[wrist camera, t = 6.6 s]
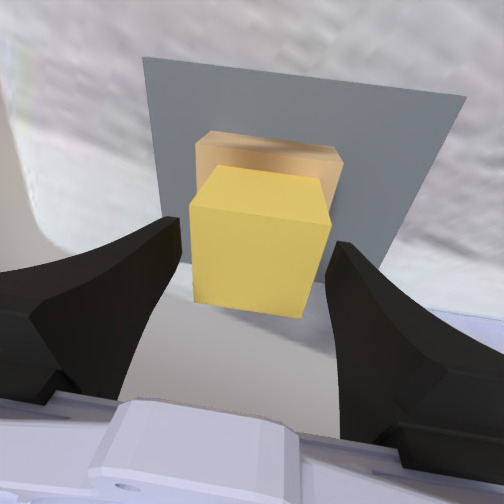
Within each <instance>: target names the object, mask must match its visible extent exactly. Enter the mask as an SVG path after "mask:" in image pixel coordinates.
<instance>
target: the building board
mask: <svg viewBox="0 0 504 504" xmlns="http://www.w3.org/2000/svg"><path fill="white" fill-rule="evenodd" d="M142 60H143V68H144V75H145V83H146V91H147V99H148V107H149V115H150V123H151V131H152V139H153V147H154V155H155V163H156V171H157V179H158V187H159V195H160V203H161V210H162V218H163V217H165V216H171V217H178V218H180V228H181V241H182V256H181V259H180V261H181V262H188V263H192V253H191V234H190V215H189V204H190V203H191V201H192V200H193V199H194V197H195V196H196V194H197V181H196V150H195V143H197V142H198V141H199V140H200V139H201V138H202V137H204V136H205V135H206V134H207V133H208V132H210V131H218V132H225V133H233V134H240V135H248V136H256V137H263V138H271V139H278V140H286V141H294V142H301V143H309V144H316V145H324V146H332V147H335V149H336V151H337V152H338V154H339V156H340V158H341V159H342V161H343V163H344V164H343V168H342V171H341V174H340V177H339V180H338V184H337V187H336V190H335V193H334V197H333V200H332V203H331V206H330V210H329V216H330V220H331V224H332V227H331V230H330V233H329V236H328V239H327V242H326V245H325V248H324V251H323V254H322V257H321V260H320V263H319V266H318V269H317V272H316V275H315V278H314V282H321V283H325V273H326V270H327V267H328V264H329V262H330V259H331V256H332V253H333V250H334V248H335V245H336V242H337V241H344V242H351V243H352V244H353V245H354V246H355V247H356V248H357V249H358V250H359V251H360V252H361V253H362V254H363V255H364V256H365V257H366V258H367V259H368V260H369V261H370V262H371V263H372V264H373V265H374V266H375V267H376V268H377V269H379V267H380V265H381V263H382V261H383V259H384V257H385V255H386V253H387V251H388V249H389V247H390V246H391V244H392V242H393V240H394V238H395V236H396V234H397V232H398V230H399V228H400V226H401V224H402V222H403V220H404V218H405V216H406V214H407V213H408V211H409V209H410V207H411V205H412V203H413V201H414V199H415V197H416V195H417V193H418V191H419V189H420V187H421V185H422V183H423V181H424V180H425V178H426V176H427V174H428V172H429V170H430V168H431V166H432V164H433V162H434V160H435V158H436V156H437V154H438V152H439V150H440V148H441V147H442V145H443V143H444V141H445V139H446V137H447V135H448V133H449V131H450V129H451V127H452V125H453V123H454V121H455V119H456V117H457V115H458V114H459V112H460V110H461V108H462V106H463V104H464V102H465V100H466V98H467V97H465V96H458V95H450V94H442V93H434V92H426V91H418V90H410V89H402V88H393V87H385V86H377V85H369V84H361V83H353V82H345V81H337V80H329V79H320V78H312V77H304V76H296V75H288V74H280V73H272V72H264V71H256V70H247V69H239V68H231V67H223V66H215V65H207V64H199V63H191V62H183V61H174V60H166V59H158V58H150V57H142Z"/></svg>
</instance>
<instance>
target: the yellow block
mask: <svg viewBox="0 0 504 504" xmlns="http://www.w3.org/2000/svg"><path fill="white" fill-rule="evenodd" d="M189 215H190V234H191V253H192V273H193V292H194V302H195V303H201V304H207V305H214V306H220V307H227V308H233V309H239V310H246V311H252V312H258V313H265V314H271V315H278V316H284V317H290V318H297V319H301V317H302V314H303V311H304V308H305V305H306V302H307V299H308V296H309V293H310V290H311V287H312V284H313V281H314V278H315V275H316V272H317V269H318V266H319V263H320V260H321V257H322V254H323V251H324V248H325V245H326V242H327V239H328V236H329V233H330V230H331V227H332V224H331V220H330V216H329V213H328V209H327V205H326V202H325V198H324V194H323V191H322V187H321V183H320V180H319V179H316V178H309V177H302V176H295V175H287V174H280V173H273V172H266V171H259V170H251V169H244V168H237V167H230V166H222V165H217V166H216V168H215V169H214V171H213V172H212V173H211V175H210V176H209V178H208V179H207V180H206V182H205V183H204V185H203V186H202V187H201V189H200V190H199V192H198V193H197V194H196V196H195V197H194V199H193V200H192V201H191V203H190V204H189Z"/></svg>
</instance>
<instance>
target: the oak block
mask: <svg viewBox="0 0 504 504" xmlns="http://www.w3.org/2000/svg"><path fill="white" fill-rule="evenodd" d="M195 150H196V181H197V193H198V192H199V190H200V189H201V187H202V186H203V185H204V183H205V182H206V180H207V179H208V178H209V176H210V175H211V173H212V172H213V171H214V169H215V168H216V166H217V165H222V166H230V167H237V168H244V169H251V170H259V171H266V172H273V173H280V174H287V175H295V176H302V177H309V178H316V179H319V180H320V183H321V187H322V191H323V194H324V198H325V202H326V205H327V209H328V213H329V210H330V206H331V203H332V200H333V197H334V193H335V190H336V187H337V184H338V180H339V177H340V174H341V171H342V168H343V164H344V163H343V161H342V159H341V158H340V156H339V154H338V152H337V151H336V149H335V147H332V146H324V145H316V144H309V143H301V142H294V141H286V140H278V139H271V138H263V137H256V136H248V135H240V134H233V133H225V132H218V131H210V132H208V133H207V134H206V135H205V136H204V137H202V138H201V139H200V140H199V141H198V142H197V143H195Z"/></svg>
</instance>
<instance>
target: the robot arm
mask: <svg viewBox="0 0 504 504" xmlns="http://www.w3.org/2000/svg"><path fill="white" fill-rule="evenodd" d="M181 256H182V241H181V228H180V218H178V217H171V216H165V217H163V218H161V219H158V220H156V221H154V222H153V223H151V224H149V225H147V226H145V227H143V228H141V229H139V230H137V231H135V232H133V233H131V234H129V235H127V236H124V237H122V238H120V239H118V240H116V241H114V242H111V243H109V244H107V245H104V246H102V247H99V248H96V249H93V250H91V251H88V252H85V253H82V254H79V255H75V256H72V257H68V258H65V259H61V260H58V261H54V262H50V263H46V264H42V265H37V266H33V267H28V268H23V269H18V270H13V271H7V272H0V504H504V321H498V320H492V319H485V318H479V317H472V316H466V315H459V314H452V313H446V312H439V311H433V310H426V309H425V308H423V307H422V306H420V305H419V304H418V303H416V302H415V301H414V300H412V299H411V298H410V297H409V296H407V295H406V294H405V293H403V292H402V291H401V290H400V289H399V288H397V287H396V286H395V285H394V284H393V283H392V282H391V281H389V280H388V279H387V278H386V277H385V276H384V275H383V274H382V273H381V272H380V271H379V270H378V269H377V268H376V267H375V266H374V265H373V264H372V263H371V262H370V261H369V260H368V259H367V258H366V257H365V256H364V255H363V254H362V253H361V252H360V251H359V250H358V249H357V248H356V247H355V246H354V245H353V244H352V243H351V242H344V241H337V242H336V245H335V248H334V250H333V253H332V256H331V259H330V262H329V264H328V267H327V270H326V273H325V291H326V298H327V303H328V309H329V314H330V319H331V324H332V328H333V333H334V339H335V346H336V357H337V368H338V369H337V370H338V386H339V409H340V439H336V438H330V437H325V436H318V435H313V434H307V433H301V432H295V431H293V430H292V429H291V428H289V427H288V426H286V425H285V424H284V423H282V422H280V421H276V420H273V419H270V418H266V417H262V416H258V415H253V414H247V413H241V412H235V411H229V410H223V409H217V408H211V407H206V406H199V405H194V404H188V403H182V402H176V401H170V400H165V399H158V398H139V397H138V398H135V399H132V400H129V401H127V402H120V401H117V399H118V396H119V394H120V391H121V388H122V385H123V382H124V379H125V376H126V374H127V371H128V368H129V366H130V363H131V361H132V358H133V355H134V353H135V350H136V348H137V345H138V343H139V340H140V338H141V336H142V333H143V331H144V329H145V327H146V324H147V322H148V320H149V317H150V315H151V313H152V311H153V309H154V308H155V306H156V304H157V303H158V301H159V299H160V297H161V296H162V294H163V292H164V290H165V289H166V287H167V285H168V284H169V282H170V280H171V278H172V277H173V275H174V273H175V271H176V269H177V266H178V264H179V261H180V259H181Z"/></svg>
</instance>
